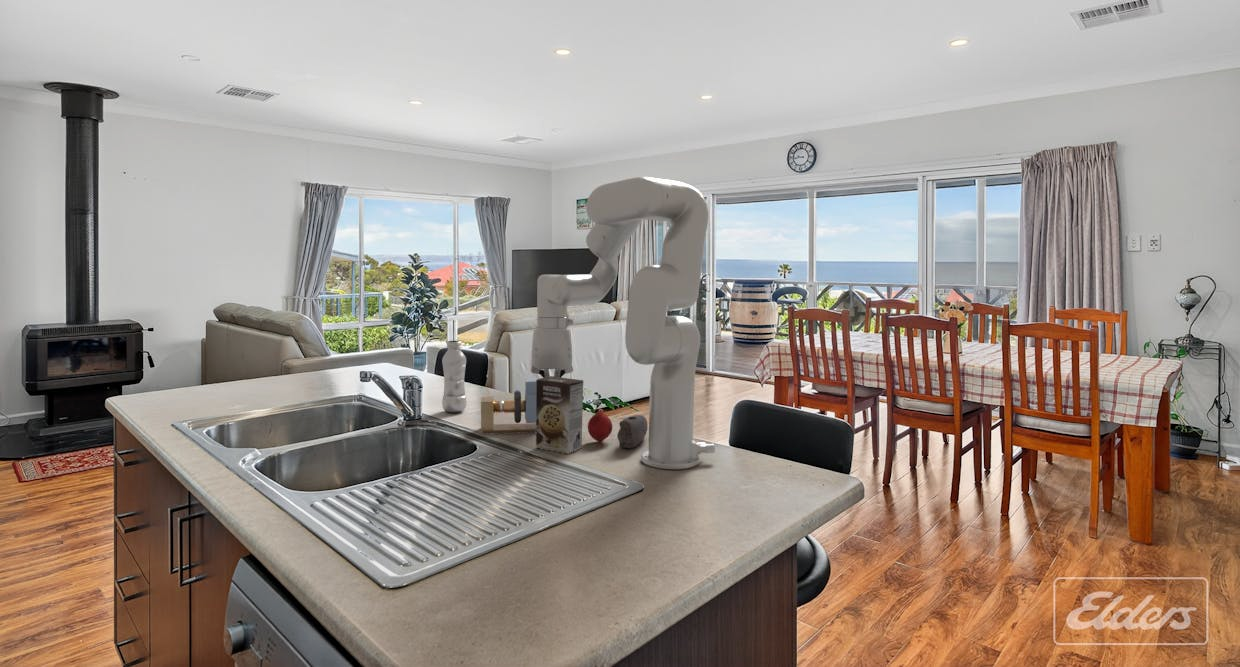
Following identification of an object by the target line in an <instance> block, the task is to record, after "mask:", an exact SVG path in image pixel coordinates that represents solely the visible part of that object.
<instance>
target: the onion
mask: <svg viewBox="0 0 1240 667" xmlns="http://www.w3.org/2000/svg"><path fill="white" fill-rule="evenodd" d="M612 431H613V423H612V420H611V419H610V418H609V416H608V415H607V414H606V413H604V409H602V408H600V409H598V410H597V412H596V413H595V414H593V415H592V417H591V418H590V419H589V420H588V424H587V432H588V434H589V435H590V437H591V438H592V439H593V440H595V441H597V443H603V441H604V440H606V439H607V438H608V437H609V436H610V435H611V433H612Z"/></svg>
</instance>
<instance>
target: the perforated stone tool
mask: <svg viewBox="0 0 1240 667" xmlns="http://www.w3.org/2000/svg"><path fill="white" fill-rule="evenodd" d="M648 429H649V423H648V420H647V418H646V417H645V416H644V415H641V414H637V415H636V414H635V415H632V416H627V417H626V418H623V419H622V420H620V422H619V430H618V433H617V439H618V443H619V445H620V447H622V448H624V449H625V448H626V449H633V448H636V447H638V446H639V445H640V444H641V443H642V442H643V440H644V439H645V437H646V435H647V434H648V433H647V431H648Z"/></svg>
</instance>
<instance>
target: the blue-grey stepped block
mask: <svg viewBox="0 0 1240 667" xmlns="http://www.w3.org/2000/svg"><path fill="white" fill-rule="evenodd" d="M536 380H537V379H525V381H524V383H525V385H524V386H525V387H524V388H525V390H524V400H526V412H524V418H525V424H529V423H536V387H537V381H536Z"/></svg>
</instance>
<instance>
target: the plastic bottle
mask: <svg viewBox="0 0 1240 667" xmlns="http://www.w3.org/2000/svg"><path fill="white" fill-rule="evenodd" d="M461 344H462V341H461V340H447V341H446V348H447V351H446V352H445V353H444V354H443V356H442V359H441V360H442V362H441V363H442V369H443V370H442V371H443V378H444V381H443V383H444V386H443V395H442V400H441V401H442V402H441V404H442V409H443V411H445V412H449V413H453V414H454V413H459V412H463V411H464V410H465V409H466V408H467V396H466V391H465V378H466V377H465V375H466V365H467V356H466V355H465V354H464V352H462V350H461V349H462V345H461Z"/></svg>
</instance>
